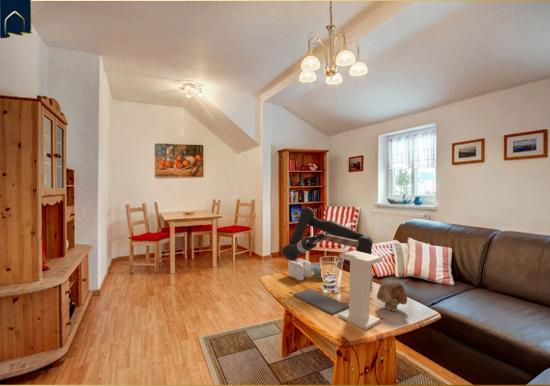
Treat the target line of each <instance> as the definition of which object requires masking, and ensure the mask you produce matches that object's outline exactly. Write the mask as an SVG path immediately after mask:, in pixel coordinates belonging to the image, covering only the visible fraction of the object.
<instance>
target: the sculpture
mask: <svg viewBox="0 0 550 386" xmlns="http://www.w3.org/2000/svg"><path fill="white" fill-rule="evenodd" d="M376 298H377V300H379V301H381V302H382V303H384V309H385V310H387V311H391V310H392V312H396V311H397V310H398V306H399V305H403V306H404V305H406V304H407V303H408V296H407V292H406V290H405V287H404V285H403V284H402V283H401V282H397V281H394V280H386V281H384V282H383V283H381V284H380V286H379V287H378V291H377V294H376ZM395 310H396V311H395Z"/></svg>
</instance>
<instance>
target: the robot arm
mask: <svg viewBox="0 0 550 386" xmlns="http://www.w3.org/2000/svg"><path fill="white" fill-rule="evenodd" d="M314 213H315V212H314V210H313V209H312V208H311V207H308V206H306V207H304V208H302V209H301V211H300V214H299V215H300V216H299V219H298V222H297V224H296V227H295V229H294V231H293V233H292V234H291V238H290V239H289V241H288V243H289V244H287V245H285V246H284V247H282V249H281V254H282V255H283V257H284V258H286V259H288V260H289V261H294V262H296V261H297V259H298V256H300V255H301V254H303V253H304V254H305V253H307V252H309V251H310V250H312V249H314V248H315V247H316V245H317V244H319V243H320V242H323V241H324V240H321V238H323V237H324V234H329V235H334V236H339V237H344V238H349V239H353V240H358V241H359V246H358V247H355V248H356V249H355V251H359V252H363V253H367V254H371V255H372V250H373V249H372V247H373V246H374V245H373V244H374V243H373V239H372V238H371V237H370V236H368V235H366V234H362V233H360V232H357V231H354V230H352V229H350V228H348V227H347V226H345V225H342V224H341V223H339V222H336V221H333V220H323V219H319V218H317V217H316V216H315V214H314ZM308 226H309V227H313V228H315V229H317V230H320V231H322V232H320V233H321V234H319V235H316V234H315V235H313V236H310V235H309V236H305V237H304V235H305V231H306V228H307V227H308ZM323 233H324V234H323ZM372 265H373V264H371V270H372V269H373V268H372ZM372 288H373V272H371V274H370V290H371V289H372Z"/></svg>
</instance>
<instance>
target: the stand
mask: <svg viewBox="0 0 550 386" xmlns="http://www.w3.org/2000/svg"><path fill="white" fill-rule="evenodd" d="M339 259H343V260H346V261H349V288H348V289H349V291H348V294H349V296H348V305H349V308H347V309H345V310H342V311H340V312H338V313H337V314H338V318H340V319H342V320H345V321H346V322H349V323H351V324H353V325H355V326H357V327H360V328H361V329H363V328H364V329H363V330H365V329H367V330H369V329H370V328H372V327H374V326H376V325H378V324H380V323H381V318H379V317H376V316H374V315H372V314H370V306H371V305H370V303H371V301H370V300H371V289H370V274H371V273H372V269H371V264H372V265H374V264H377V263H380V262H383V256H379V255H376V254H372V253H371V254H367V253H363V252H359V251H356V249H355V250H351V251H346V252H342V253H339ZM379 322H380V323H379ZM377 323H378V324H377ZM375 324H376V325H375ZM373 325H374V326H373ZM369 327H370V328H369ZM368 328H369V329H368Z"/></svg>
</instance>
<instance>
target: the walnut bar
mask: <svg viewBox="0 0 550 386" xmlns="http://www.w3.org/2000/svg"><path fill="white" fill-rule="evenodd" d="M321 233H323V234H324V233H325V232H316V233H315V236H316V235H319V234H321ZM321 240H323V241H324V242H325V241H326V242H331V243H333V244H334V243H335V244H339V245H343V246H347V247H352V248H356V247H358V246H359V241H358V240H353V239H349V238H344V237H339V236H334V235H330V234H324V237H323V238H321Z"/></svg>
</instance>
